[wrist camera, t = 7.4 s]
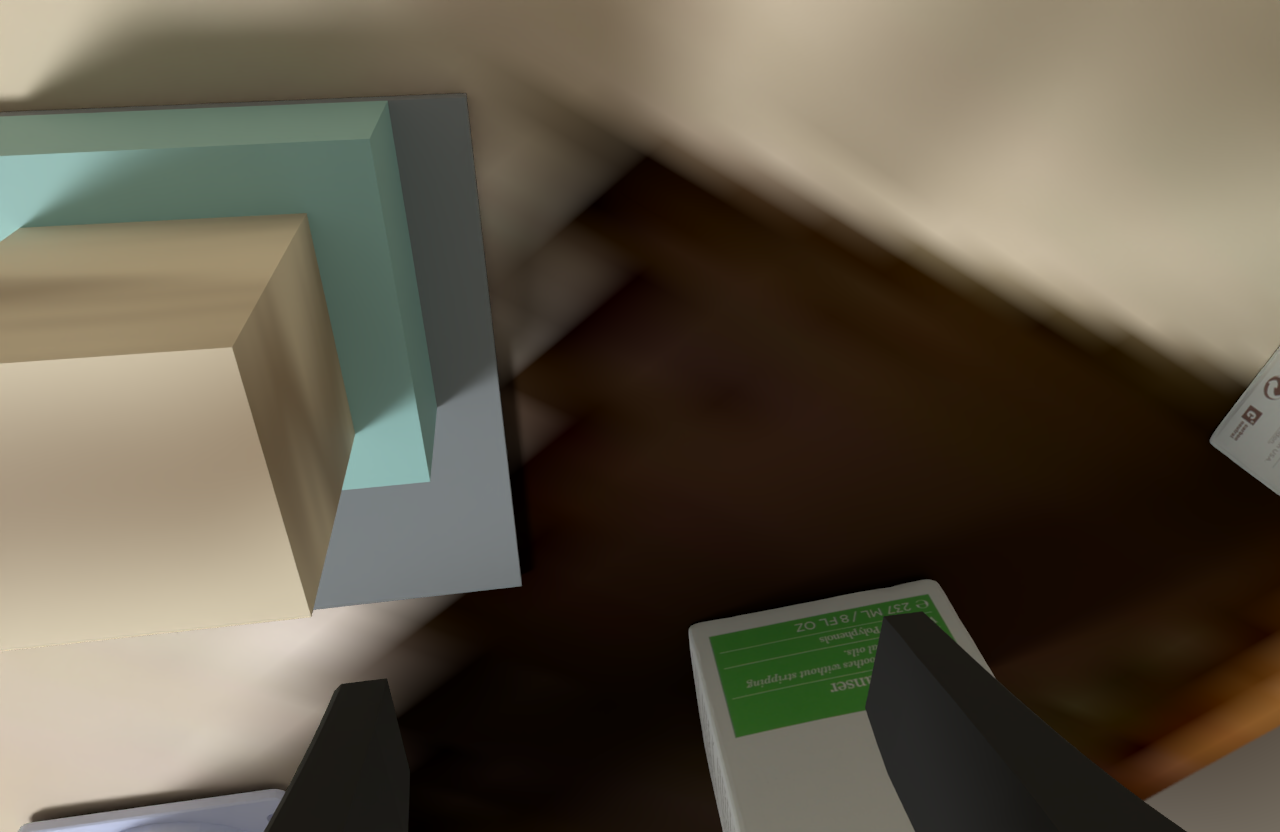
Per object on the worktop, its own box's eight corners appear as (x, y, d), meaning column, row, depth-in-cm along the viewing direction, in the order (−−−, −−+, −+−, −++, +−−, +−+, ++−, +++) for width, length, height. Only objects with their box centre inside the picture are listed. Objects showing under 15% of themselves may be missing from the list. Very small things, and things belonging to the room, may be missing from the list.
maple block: (355, 434, 17) (311, 617, 12) (112, 455, 16) (-19, 653, 12) (306, 212, 14) (231, 346, 10) (19, 227, 14) (-186, 376, 9)
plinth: (437, 407, 20) (430, 481, 18) (124, 434, 19) (70, 516, 17) (387, 100, 16) (369, 138, 14) (-3, 116, 15) (-98, 160, 13)
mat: (521, 576, 24) (521, 585, 23) (-101, 646, 22) (-110, 657, 21) (466, 93, 17) (465, 97, 16) (-453, 130, 15) (-475, 136, 14)
